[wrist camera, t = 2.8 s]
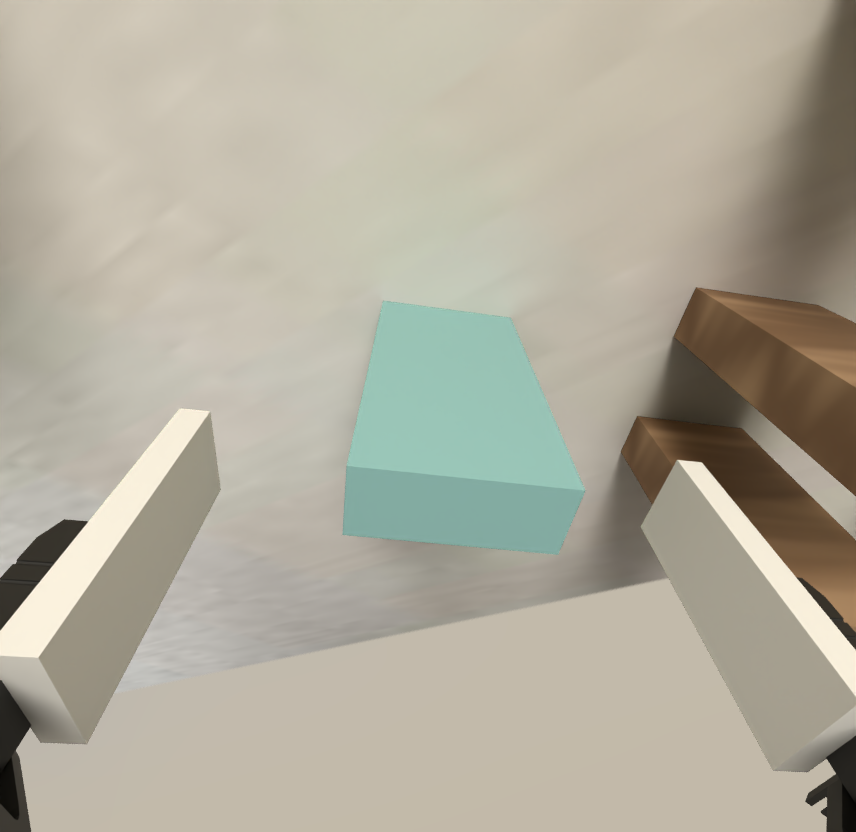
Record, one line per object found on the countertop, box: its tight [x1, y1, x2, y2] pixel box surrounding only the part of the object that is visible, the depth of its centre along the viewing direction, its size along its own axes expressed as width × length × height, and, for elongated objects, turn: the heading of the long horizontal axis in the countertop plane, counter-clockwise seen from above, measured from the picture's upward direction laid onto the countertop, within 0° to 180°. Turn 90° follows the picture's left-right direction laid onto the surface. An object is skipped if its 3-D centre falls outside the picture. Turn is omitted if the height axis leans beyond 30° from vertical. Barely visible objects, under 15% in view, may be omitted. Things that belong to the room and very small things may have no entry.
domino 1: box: [343, 301, 585, 555], centre depth 17 cm, size 2×6×12 cm, turn 83°
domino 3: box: [621, 416, 856, 632], centre depth 21 cm, size 2×6×12 cm, turn 83°
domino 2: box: [674, 288, 856, 496], centre depth 17 cm, size 2×6×12 cm, turn 82°
